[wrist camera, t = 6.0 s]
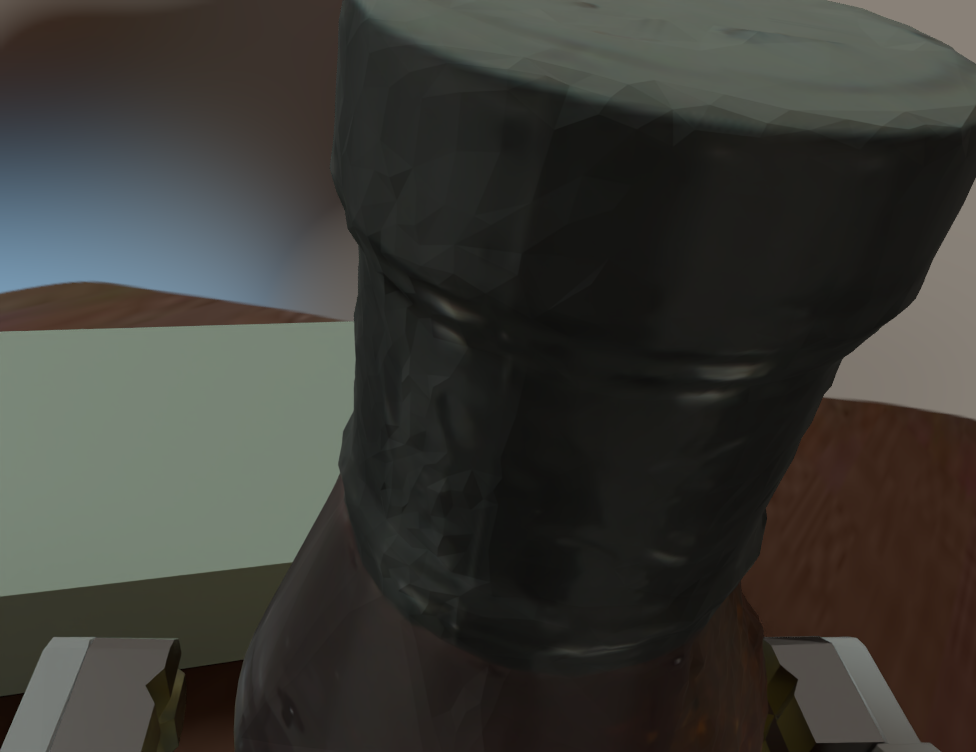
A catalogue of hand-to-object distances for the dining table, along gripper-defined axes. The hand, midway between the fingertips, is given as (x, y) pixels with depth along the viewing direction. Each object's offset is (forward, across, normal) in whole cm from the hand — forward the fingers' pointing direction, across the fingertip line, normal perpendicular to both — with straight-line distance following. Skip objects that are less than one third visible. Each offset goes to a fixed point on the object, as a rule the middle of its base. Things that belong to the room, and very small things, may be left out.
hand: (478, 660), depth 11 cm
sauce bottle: (-1, 0, +11) cm, 11 cm away
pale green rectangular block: (+14, +4, +11) cm, 18 cm away
